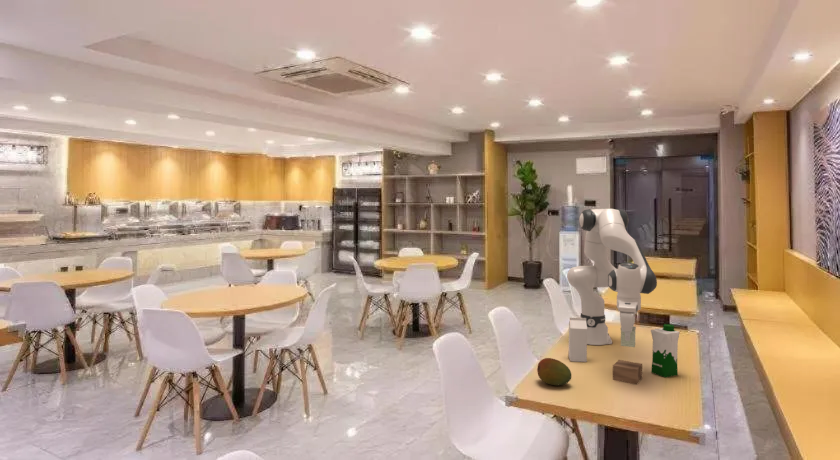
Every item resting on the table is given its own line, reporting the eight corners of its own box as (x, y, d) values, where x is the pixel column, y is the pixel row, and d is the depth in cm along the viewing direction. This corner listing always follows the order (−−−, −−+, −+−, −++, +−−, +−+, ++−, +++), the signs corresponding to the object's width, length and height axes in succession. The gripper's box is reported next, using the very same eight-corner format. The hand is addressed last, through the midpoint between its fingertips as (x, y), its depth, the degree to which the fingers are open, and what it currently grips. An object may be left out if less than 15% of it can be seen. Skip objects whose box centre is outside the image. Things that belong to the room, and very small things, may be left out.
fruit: (534, 378, 194) (534, 354, 194) (566, 379, 194) (566, 354, 194) (541, 389, 183) (541, 363, 182) (574, 389, 182) (575, 363, 182)
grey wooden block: (621, 342, 197) (621, 325, 197) (635, 344, 194) (635, 326, 194) (620, 345, 192) (620, 328, 192) (634, 347, 190) (635, 329, 190)
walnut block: (618, 374, 200) (618, 359, 200) (642, 378, 195) (642, 363, 195) (612, 380, 193) (612, 365, 193) (636, 384, 188) (637, 369, 187)
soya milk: (681, 375, 197) (682, 327, 197) (665, 378, 194) (666, 329, 193) (662, 369, 205) (663, 322, 205) (647, 372, 202) (648, 324, 201)
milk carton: (586, 362, 215) (587, 319, 214) (570, 361, 216) (570, 319, 216) (584, 357, 222) (585, 316, 221) (568, 356, 223) (568, 315, 222)
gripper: (622, 299, 203) (621, 331, 204) (617, 307, 185) (617, 343, 186) (638, 300, 201) (638, 333, 201) (635, 309, 182) (635, 345, 183)
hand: (628, 338), depth 193 cm, fingers closed on grey wooden block, 5 cm apart
